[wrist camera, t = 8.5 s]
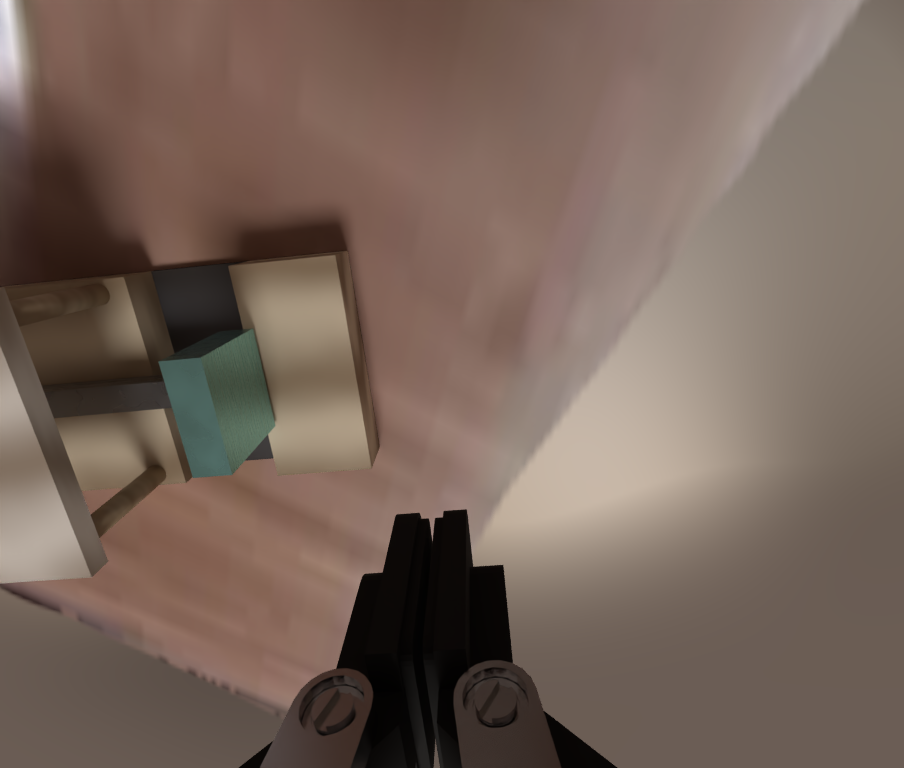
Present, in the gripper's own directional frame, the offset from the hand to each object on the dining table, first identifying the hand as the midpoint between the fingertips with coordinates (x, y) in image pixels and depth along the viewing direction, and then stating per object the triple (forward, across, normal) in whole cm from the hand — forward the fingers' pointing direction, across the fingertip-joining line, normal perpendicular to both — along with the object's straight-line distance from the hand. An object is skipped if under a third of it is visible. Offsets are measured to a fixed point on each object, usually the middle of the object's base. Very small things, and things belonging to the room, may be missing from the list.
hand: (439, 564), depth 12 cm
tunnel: (+21, +25, +1) cm, 33 cm away
